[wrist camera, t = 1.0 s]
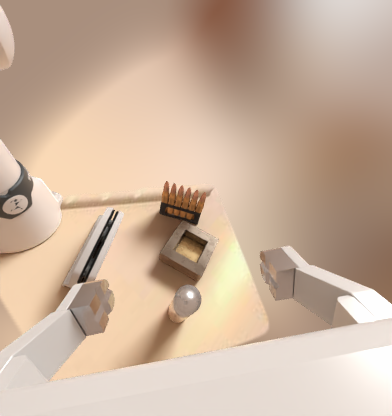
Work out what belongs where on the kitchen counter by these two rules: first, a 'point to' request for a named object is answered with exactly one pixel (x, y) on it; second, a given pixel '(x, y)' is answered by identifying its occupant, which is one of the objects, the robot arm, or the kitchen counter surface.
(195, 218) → the ammunition clip
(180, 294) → the pin
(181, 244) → the square nut block
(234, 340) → the kitchen counter surface
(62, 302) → the robot arm
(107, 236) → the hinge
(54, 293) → the kitchen counter surface
